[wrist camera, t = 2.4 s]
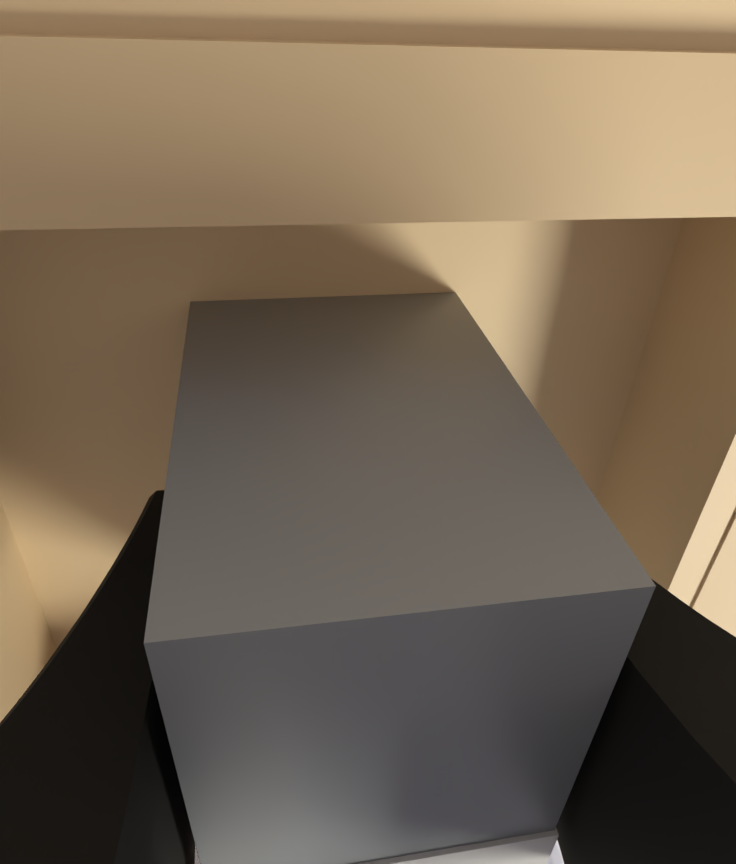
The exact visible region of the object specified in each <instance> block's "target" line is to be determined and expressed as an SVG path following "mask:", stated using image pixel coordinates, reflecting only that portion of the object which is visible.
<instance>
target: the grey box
mask: <svg viewBox="0 0 736 864" xmlns="http://www.w3.org/2000/svg"><path fill="white" fill-rule="evenodd" d="M655 587H656V585H655V584H654V582H653V581H652V579H651V578H650V576H649V575H648V573H647V572H646V570H645V569H644V568H643V566H642V565H641V563H640V562H639V560H638V559H637V557H636V556H635V554H634V553H633V551H632V550H631V548H630V547H629V546H628V544H627V543H626V541H625V540H624V538H623V537H622V535H621V534H620V532H619V531H618V529H617V528H616V526H615V525H614V524H613V522H612V521H611V519H610V518H609V516H608V515H607V513H606V512H605V510H604V509H603V507H602V506H601V505H600V503H599V502H598V500H597V499H596V497H595V496H594V494H593V493H592V491H591V490H590V488H589V487H588V485H587V484H586V483H585V481H584V480H583V478H582V477H581V475H580V474H579V472H578V471H577V469H576V468H575V466H574V465H573V463H572V462H571V461H570V459H569V458H568V456H567V455H566V453H565V452H564V450H563V449H562V447H561V446H560V444H559V443H558V442H557V440H556V439H555V437H554V436H553V434H552V433H551V431H550V430H549V428H548V427H547V425H546V424H545V422H544V421H543V420H542V418H541V417H540V415H539V414H538V412H537V411H536V409H535V408H534V406H533V405H532V403H531V402H530V400H529V399H528V398H527V396H526V395H525V393H524V392H523V390H522V389H521V387H520V386H519V384H518V383H517V381H516V380H515V378H514V377H513V376H512V374H511V373H510V371H509V370H508V368H507V367H506V365H505V364H504V362H503V361H502V359H501V358H500V357H499V355H498V354H497V352H496V351H495V349H494V348H493V346H492V345H491V343H490V342H489V340H488V339H487V337H486V336H485V335H484V333H483V332H482V330H481V329H480V327H479V326H478V324H477V323H476V321H475V320H474V318H473V317H472V315H471V314H470V313H469V311H468V310H467V308H466V307H465V305H464V304H463V302H462V301H461V299H460V298H459V296H458V295H457V294H456V292H445V293H416V294H388V295H360V296H331V297H303V298H275V299H247V300H218V301H190V307H189V315H188V322H187V329H186V337H185V344H184V351H183V359H182V366H181V373H180V380H179V388H178V395H177V402H176V410H175V417H174V424H173V432H172V439H171V446H170V454H169V461H168V468H167V476H166V483H165V490H164V498H163V505H162V512H161V520H160V527H159V534H158V542H157V549H156V556H155V564H154V571H153V578H152V586H151V593H150V600H149V608H148V615H147V622H146V630H145V637H144V647H145V650H146V654H147V658H148V662H149V666H150V670H151V674H152V678H153V682H154V685H155V689H156V693H157V697H158V701H159V705H160V709H161V713H162V717H163V720H164V724H165V728H166V732H167V736H168V740H169V744H170V748H171V752H172V755H173V759H174V763H175V767H176V771H177V775H178V779H179V783H180V787H181V790H182V794H183V798H184V802H185V806H186V810H187V814H188V818H189V822H190V825H191V829H192V833H193V837H194V841H195V845H196V849H197V853H198V857H199V861H200V864H547V862H548V860H549V857H550V855H551V853H552V850H553V848H554V846H555V843H556V841H557V839H558V836H559V834H558V831H557V829H556V825H557V823H558V821H559V818H560V816H561V813H562V811H563V809H564V806H565V804H566V801H567V799H568V797H569V794H570V792H571V789H572V787H573V785H574V782H575V780H576V777H577V775H578V772H579V770H580V768H581V765H582V763H583V760H584V758H585V756H586V753H587V751H588V748H589V746H590V744H591V741H592V739H593V736H594V734H595V732H596V729H597V727H598V724H599V722H600V720H601V717H602V715H603V712H604V710H605V708H606V705H607V703H608V700H609V698H610V696H611V693H612V691H613V688H614V686H615V684H616V681H617V679H618V676H619V674H620V672H621V669H622V667H623V664H624V662H625V660H626V657H627V655H628V652H629V650H630V648H631V645H632V643H633V640H634V638H635V636H636V633H637V631H638V628H639V626H640V624H641V621H642V619H643V616H644V614H645V612H646V609H647V607H648V604H649V602H650V600H651V597H652V595H653V592H654V590H655Z"/></svg>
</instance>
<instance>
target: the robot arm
mask: <svg viewBox="0 0 736 864" xmlns="http://www.w3.org/2000/svg"><path fill="white" fill-rule="evenodd" d="M163 498H164V490H157V491H155V492H154V493H153V494H152V495H151V496H150V497H149V499H148V501H147V503H146V505H145V507H144V509H143V511H142V513H141V515H140V517H139V519H138V521H137V523H136V525H135V526H134V528H133V530H132V532H131V534H130V536H129V537H128V539H127V541H126V543H125V544H124V546H123V548H122V550H121V551H120V553H119V555H118V557H117V558H116V560H115V562H114V563H113V565H112V567H111V568H110V570H109V571H108V573H107V575H106V576H105V578H104V579H103V581H102V582H101V584H100V586H99V587H98V589H97V590H96V592H95V594H94V595H93V597H92V598H91V600H90V602H89V603H88V605H87V606H86V608H85V609H84V611H83V612H82V614H81V615H80V617H79V618H78V620H77V621H76V622H75V624H74V625H73V627H72V628H71V629H70V631H69V632H68V634H67V635H66V637H65V638H64V639H63V641H62V642H61V644H60V645H59V646H58V648H57V649H56V651H55V652H54V653H53V655H52V656H51V658H50V659H49V660H48V662H47V663H46V665H45V666H44V667H43V669H42V670H41V671H40V673H39V674H38V675H37V677H36V678H35V679H34V681H33V682H32V683H31V685H30V686H29V687H28V688H27V690H26V691H25V692H24V694H23V695H22V696H21V697H20V699H19V700H18V701H17V702H16V704H15V705H14V706H13V708H12V709H11V710H10V711H9V712H8V714H7V715H6V716H5V717H4V719H3V720H2V721H1V722H0V864H194V860H195V841H194V837H193V833H192V829H191V825H190V822H189V818H188V814H187V810H186V806H185V802H184V798H183V794H182V790H181V787H180V783H179V779H178V775H177V771H176V767H175V763H174V759H173V755H172V752H171V748H170V744H169V740H168V736H167V732H166V728H165V724H164V720H163V717H162V713H161V709H160V705H159V701H158V697H157V693H156V689H155V685H154V682H153V678H152V674H151V670H150V666H149V662H148V658H147V654H146V650H145V647H144V637H145V630H146V622H147V615H148V608H149V600H150V593H151V586H152V578H153V571H154V564H155V556H156V549H157V542H158V534H159V527H160V520H161V512H162V505H163ZM652 581H653V582H654V584H655V585H656V587H655V590H654V592H653V595H652V597H651V600H650V602H649V604H648V607H647V609H646V612H645V614H644V616H643V619H642V621H641V624H640V626H639V628H638V631H637V633H636V636H635V638H634V640H633V643H632V645H631V648H630V650H629V652H628V655H627V657H626V660H625V662H624V664H623V667H622V669H621V672H620V674H619V676H618V679H617V681H616V684H615V686H614V688H613V691H612V693H611V696H610V698H609V700H608V703H607V705H606V708H605V710H604V712H603V715H602V717H601V720H600V722H599V724H598V727H597V729H596V732H595V734H594V736H593V739H592V741H591V744H590V746H589V748H588V751H587V753H586V756H585V758H584V760H583V763H582V765H581V768H580V770H579V772H578V775H577V777H576V780H575V782H574V785H573V787H572V789H571V792H570V794H569V797H568V799H567V801H566V804H565V806H564V809H563V811H562V813H561V816H560V818H559V821H558V823H557V825H556V829H557V831H558V834H559V836H558V839H557V841H556V843H555V846H554V848H553V850H552V853H551V855H550V857H549V860H548V862H547V864H736V637H735V636H733V635H732V634H730V633H729V632H727V631H726V630H724V629H722V628H721V627H719V626H718V625H716V624H715V623H713V622H712V621H710V620H709V619H707V618H706V617H704V616H703V615H701V614H700V613H698V612H697V611H695V610H694V609H693V608H691V607H690V606H688V605H687V604H685V603H684V602H683V601H681V600H680V599H678V598H677V597H676V596H674V595H673V594H672V593H670V592H669V591H668V590H666V589H665V588H664V587H662V586H661V585H660V584H658V583H657V582H655V581H654V580H653V579H652Z"/></svg>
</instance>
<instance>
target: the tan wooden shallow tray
mask: <svg viewBox="0 0 736 864" xmlns="http://www.w3.org/2000/svg"><path fill="white" fill-rule="evenodd" d="M445 292H456V294H457V295H458V296H459V298H460V299H461V301H462V302H463V304H464V305H465V307H466V308H467V310H468V311H469V313H470V314H471V315H472V317H473V318H474V320H475V321H476V323H477V324H478V326H479V327H480V329H481V330H482V332H483V333H484V335H485V336H486V337H487V339H488V340H489V342H490V343H491V345H492V346H493V348H494V349H495V351H496V352H497V354H498V355H499V357H500V358H501V359H502V361H503V362H504V364H505V365H506V367H507V368H508V370H509V371H510V373H511V374H512V376H513V377H514V378H515V380H516V381H517V383H518V384H519V386H520V387H521V389H522V390H523V392H524V393H525V395H526V396H527V398H528V399H529V400H530V402H531V403H532V405H533V406H534V408H535V409H536V411H537V412H538V414H539V415H540V417H541V418H542V420H543V421H544V422H545V424H546V425H547V427H548V428H549V430H550V431H551V433H552V434H553V436H554V437H555V439H556V440H557V442H558V443H559V444H560V446H561V447H562V449H563V450H564V452H565V453H566V455H567V456H568V458H569V459H570V461H571V462H572V463H573V465H574V466H575V468H576V469H577V471H578V472H579V474H580V475H581V477H582V478H583V480H584V481H585V483H586V484H587V485H588V487H589V488H590V490H591V491H592V493H593V494H594V496H595V497H596V499H597V500H598V502H599V503H600V505H601V506H602V507H603V509H604V510H605V512H606V513H607V515H608V516H609V518H610V519H611V521H612V522H613V524H614V525H615V526H616V528H617V529H618V531H619V532H620V534H621V535H622V537H623V538H624V540H625V541H626V543H627V544H628V546H629V547H630V548H631V550H632V551H633V553H634V554H635V556H636V557H637V559H638V560H639V562H640V563H641V565H642V566H643V568H644V569H645V570H646V572H647V573H648V575H649V576H650V578H651V579H653V580H654V581H655V582H657V583H658V584H660V585H661V586H662V587H664V588H665V589H666V590H668V591H669V592H670V593H672V594H673V595H674V596H676V597H677V598H678V599H680V600H681V601H683V602H684V603H685V604H687V605H688V606H690V607H691V608H693V609H694V610H695V611H697V612H698V613H700V614H701V615H703V616H704V617H706V618H707V619H709V620H710V621H712V622H713V623H715V624H716V625H718V626H719V627H721V628H722V629H724V630H726V631H727V632H729V633H730V634H732V635H733V636H735V637H736V0H0V722H1V721H2V720H3V719H4V717H5V716H6V715H7V714H8V712H9V711H10V710H11V709H12V708H13V706H14V705H15V704H16V702H17V701H18V700H19V699H20V697H21V696H22V695H23V694H24V692H25V691H26V690H27V688H28V687H29V686H30V685H31V683H32V682H33V681H34V679H35V678H36V677H37V675H38V674H39V673H40V671H41V670H42V669H43V667H44V666H45V665H46V663H47V662H48V660H49V659H50V658H51V656H52V655H53V653H54V652H55V651H56V649H57V648H58V646H59V645H60V644H61V642H62V641H63V639H64V638H65V637H66V635H67V634H68V632H69V631H70V629H71V628H72V627H73V625H74V624H75V622H76V621H77V620H78V618H79V617H80V615H81V614H82V612H83V611H84V609H85V608H86V606H87V605H88V603H89V602H90V600H91V598H92V597H93V595H94V594H95V592H96V590H97V589H98V587H99V586H100V584H101V582H102V581H103V579H104V578H105V576H106V575H107V573H108V571H109V570H110V568H111V567H112V565H113V563H114V562H115V560H116V558H117V557H118V555H119V553H120V551H121V550H122V548H123V546H124V544H125V543H126V541H127V539H128V537H129V536H130V534H131V532H132V530H133V528H134V526H135V525H136V523H137V521H138V519H139V517H140V515H141V513H142V511H143V509H144V507H145V505H146V503H147V501H148V499H149V497H150V496H151V495H152V494H153V493H154V492H155V491H157V490H165V483H166V476H167V468H168V461H169V454H170V446H171V439H172V432H173V424H174V417H175V410H176V402H177V395H178V388H179V380H180V373H181V366H182V359H183V351H184V344H185V337H186V329H187V322H188V315H189V307H190V301H218V300H247V299H275V298H303V297H331V296H360V295H388V294H416V293H445Z"/></svg>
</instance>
